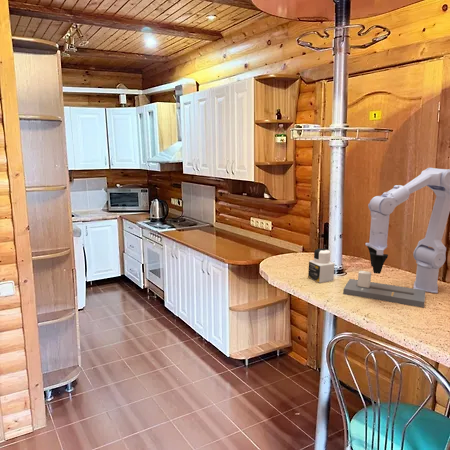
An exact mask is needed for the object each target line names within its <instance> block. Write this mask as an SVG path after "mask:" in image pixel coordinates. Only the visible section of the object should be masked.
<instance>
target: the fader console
mask: <svg viewBox="0 0 450 450" xmlns="http://www.w3.org/2000/svg"><path fill="white" fill-rule="evenodd" d="M345 284H346V285H344V287H343V293H342V294H343V295H347V296H352V297H359V298H365V299H371V300H377V301H381V302H382V301H383V302H388V303H393V304H394V303H395V304H399V305H406V306H411V307H412V306H413V307H416V308H417V307H418V308H424V309H425V302H426V290H420V289H414V288H412V287H406V286H399V285H394V284H389V283H388V284H385V283H379V282H374V281H371V282H370V287H369V288H366V287H360V286H357V285H358V279H355V278H349V279H348V281H347V283H345Z"/></svg>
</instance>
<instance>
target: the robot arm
mask: <svg viewBox="0 0 450 450" xmlns="http://www.w3.org/2000/svg"><path fill="white" fill-rule="evenodd" d="M424 187H427V188H429V189H430V190H431V191H433V193H434V194H435V200H434V204H433V207H432V211H431V215H430V218H429V222H428V225H427V229H426V233H425V236H424V238H422V239H420V240H419V241H418V242H417V245H416V247H415V249H414V250H413V252H412V253H413V254H412V255H413V259H414V260H415V263H416V264H417V265H416V274H415V281H413V288H414V289H420V290H426V291H425V293H426V292H428V293H432V294H438V293H439V292H438V291H439V287H438V278H439V273H440V272H439V270H440V268H442V267H443V265H444V264H445V262H446V258H447V257H446V252H447V247H446V246H445V244H444V243H443V241H442V240H443V237H444V233H445V229H446V227H447V223H448V218H449V215H450V168H447V169H445V168H436V167H435V168H434V167H427V168H426V169H424V170H421V172H420V174H419V175H418V176H416V177H415V178H413V179H412V180H410V181H409V182H407V183H406V184H404V185H401V184H398V185H397V184H396V185H393V188H391V189H390V190H387V191H384V192H383V193H382V194H381V195H375V196H374V197H372V198H371V199H370V201H369V203H368V204H367V205H368V210H369V211H370V230H369V242H365V246H366V247H367V248H368V252H369V257H370V265H371V267H372V272H373V273H374V274H379V275H380V274H381V273H382V269H383V266H384V263H385V262H386V260H387V259H388V257H389V254H385V253H384V251H385V250H386V249H387V248H388V234H389V227H390V226H389V225H390V224H389V223H390V214H392V213H393V212H394V211H395V209H396V207H397V206H399V205H401V204H403V203H404V202H406V201H407V200H409V198H410V194H413V193H415V192H417V191H419V190H421V189H422V188H424Z"/></svg>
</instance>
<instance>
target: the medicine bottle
mask: <svg viewBox="0 0 450 450" xmlns="http://www.w3.org/2000/svg"><path fill="white" fill-rule="evenodd" d="M307 274H308V276H307V277H308V278H309V279H310V280H312V281H314V282H317V283H318V284H321V283H327V282H333V281H334V278H335V263H334V262H332V261H331V251H330V250H329V249H328V248H317V249H314V251H313V259H312V260H309V261H308V271H307Z"/></svg>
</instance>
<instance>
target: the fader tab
mask: <svg viewBox="0 0 450 450" xmlns="http://www.w3.org/2000/svg"><path fill="white" fill-rule="evenodd" d="M357 276H358V277H357V280H358V285H357V286H360V287H366V288H369V287H370V282H372V281H371V280H372V271H366V270H365V271H364V270H359V271H358V275H357Z"/></svg>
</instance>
